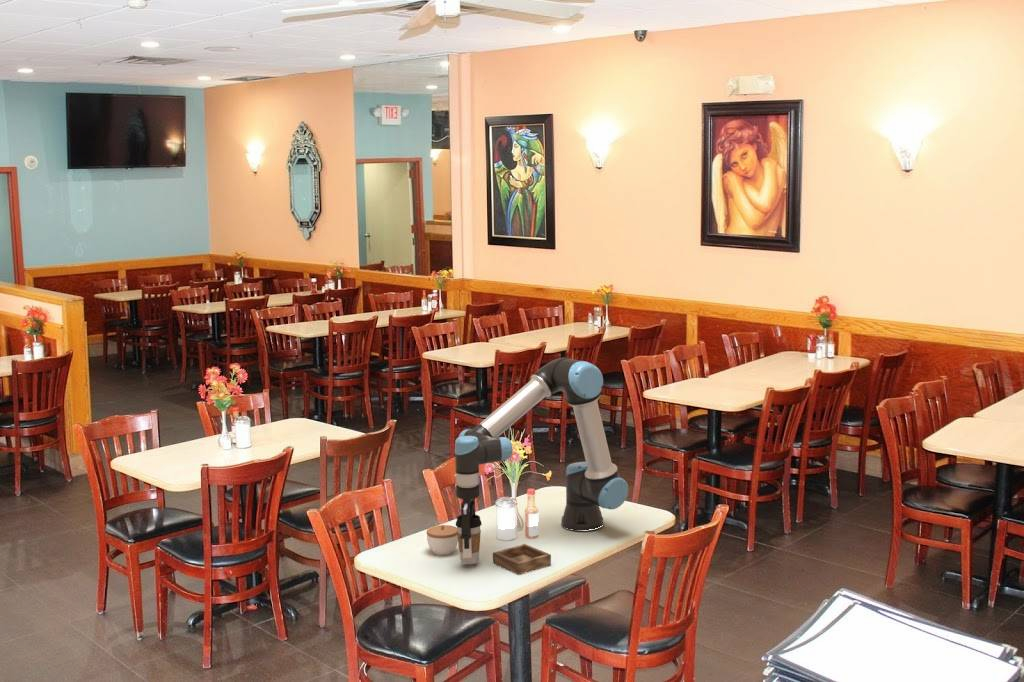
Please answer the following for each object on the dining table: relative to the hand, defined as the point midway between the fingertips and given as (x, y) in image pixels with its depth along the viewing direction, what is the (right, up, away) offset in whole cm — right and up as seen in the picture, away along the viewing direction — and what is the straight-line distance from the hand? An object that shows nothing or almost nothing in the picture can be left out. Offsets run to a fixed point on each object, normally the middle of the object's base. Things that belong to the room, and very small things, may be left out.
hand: (469, 552), depth 340 cm
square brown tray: (+17, -4, +1) cm, 17 cm away
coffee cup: (0, -3, 0) cm, 3 cm away
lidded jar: (-9, -3, +13) cm, 17 cm away
